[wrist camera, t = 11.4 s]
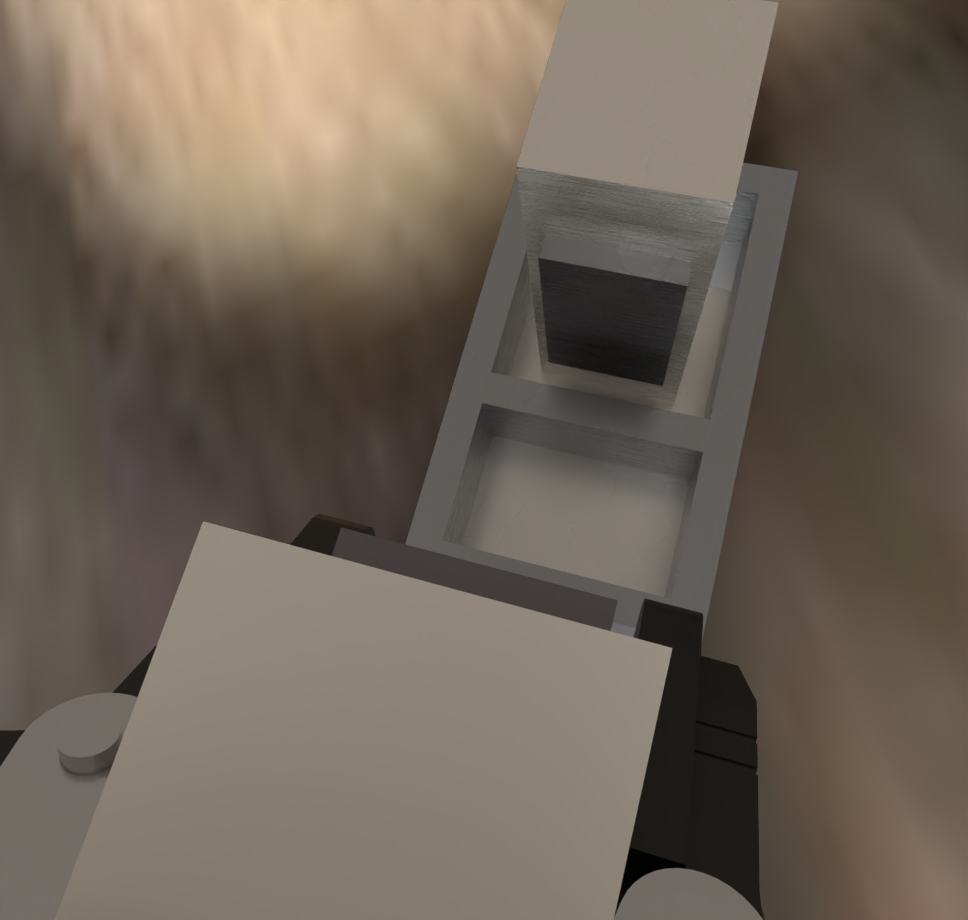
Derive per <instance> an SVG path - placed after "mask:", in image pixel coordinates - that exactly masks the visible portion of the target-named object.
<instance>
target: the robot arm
mask: <svg viewBox="0 0 968 920" xmlns="http://www.w3.org/2000/svg"><path fill="white" fill-rule="evenodd" d="M341 528H345V529H349V530H353V531H356V532H360V533H364V534H368V535H372V536H375V532H374V529H373V528H372V527H368V526H364V525H361V524H357V523H353V522H349V521H345V520H341V519H337V518H333V517H329V516H326V515H322V514H318V515H316V516H315V517H313V518H312V519H311V521H310V522H309V523H308V524H307V525H306V526H305V528H304V529H303V530H302V531H301V532H300V534H299V535H298V536H297V537H296V538H295V539H294V541H293V542H292V543H291V544H290V545H292V546H296V547H300V548H304V549H307V550H311V551H315V552H318V553H322V554H326V555H329V556H332V554H333V551H334V548H335V545H336V542H337V538H338V535H339V532H340V529H341ZM702 630H703V613H700V612H696V611H692V610H689V609H685V608H681V607H677V606H673V605H669V604H665V603H661V602H658V601H654V600H650V599H646V598H644V600H643V603H642V607H641V610H640V614H639V618H638V622H637V625H636V629H635V633H634V637H633V638H637V639H641V640H644V641H648V642H652V643H655V644H659V645H663V646H667V647H670V648H672V652H671V657H670V662H669V666H668V671H667V676H666V680H665V685H664V689H663V694H662V699H661V703H660V708H659V713H658V717H657V722H656V726H655V731H654V736H653V740H652V745H651V750H650V754H649V759H648V763H647V768H646V773H645V777H644V782H643V787H642V791H641V796H640V800H639V805H638V810H637V814H636V819H635V824H634V828H633V833H632V837H631V842H630V847H629V851H628V856H627V861H626V865H625V870H624V874H623V879H622V884H621V888H620V893H619V898H618V902H617V907H616V911H615V916H614V920H765V919H764V915H763V911H762V908H761V902H760V892H759V831H758V775H756V771H757V768H758V767H757V744H756V739H757V702H756V699H755V698H754V696H753V694H752V692H751V690H750V688H749V686H748V684H747V682H746V680H745V678H744V676H743V674H742V672H741V670H740V668H739V666H737V665H733V664H729V663H725V662H722V661H718V660H714V659H710V658H707V657H703V656H701V645H702ZM156 647H157V645H156V646H155V647H154V648H153V650H152V651H151V652H150V653H149V654H148V655H147V656H146V657H145V658H144V659H143V660H142V661H141V663H140V664H139V665H138V666H137V667H136V668H135V669H134V670H133V671H132V672H131V673H130V675H129V676H128V677H127V678H126V679H125V680H124V681H123V682H122V683H121V684H120V685H119V686H118V688H117V689H116V690H115V691H114V692H113V693H99V694H92V695H87V696H82V697H79V698H76V699H72V700H70V701H67V702H65V703H63V704H60V705H58V706H56V707H54V708H53V709H51V710H49V711H47V712H46V713H44V714H43V715H42V716H40V717H39V718H38V719H36V720H35V721H34V722H33V723H32V724H31V725H30V726H29V727H28V728H27V729H26V730H18V731H0V920H55V918H56V915H57V913H58V910H59V907H60V905H61V902H62V899H63V896H64V894H65V891H66V888H67V886H68V883H69V880H70V878H71V875H72V872H73V870H74V867H75V864H76V862H77V859H78V856H79V853H80V851H81V848H82V845H83V843H84V840H85V837H86V835H87V832H88V829H89V827H90V824H91V821H92V819H93V816H94V813H95V811H96V808H97V805H98V802H99V800H100V797H101V794H102V792H103V789H104V786H105V784H106V781H107V778H108V776H109V773H110V770H111V768H112V765H113V762H114V759H115V757H116V754H117V751H118V749H119V746H120V743H121V741H122V738H123V735H124V733H125V730H126V727H127V725H128V722H129V719H130V716H131V714H132V711H133V708H134V706H135V703H136V700H137V698H138V695H139V692H140V690H141V687H142V684H143V682H144V679H145V676H146V673H147V671H148V668H149V665H150V663H151V660H152V657H153V655H154V652H155V649H156Z"/></svg>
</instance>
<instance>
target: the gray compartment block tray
mask: <svg viewBox="0 0 968 920" xmlns="http://www.w3.org/2000/svg"><path fill="white" fill-rule="evenodd" d="M778 4H779V2H772V1H764V0H566V3H565V6H564V9H563V13H562V16H561V19H560V23H559V26H558V29H557V33H556V36H555V39H554V43H553V46H552V49H551V53H550V56H549V59H548V63H547V66H546V69H545V73H544V76H543V79H542V83H541V86H540V89H539V93H538V96H537V99H536V102H535V106H534V109H533V112H532V116H531V119H530V122H529V126H528V129H527V132H526V136H525V139H524V142H523V146H522V149H521V152H520V156H519V159H518V162H517V166H516V168H517V174H516V177H515V181H514V184H513V187H512V191H511V194H510V197H509V201H508V204H507V207H506V211H505V214H504V217H503V221H502V224H501V227H500V231H499V234H498V237H497V241H496V244H495V247H494V251H493V254H492V257H491V261H490V264H489V267H488V271H487V274H486V277H485V281H484V284H483V287H482V291H481V294H480V297H479V301H478V304H477V307H476V311H475V314H474V317H473V321H472V324H471V327H470V331H469V334H468V337H467V341H466V344H465V347H464V351H463V354H462V357H461V361H460V364H459V367H458V371H457V374H456V377H455V381H454V384H453V387H452V391H451V394H450V397H449V401H448V404H447V407H446V411H445V414H444V417H443V421H442V424H441V427H440V431H439V434H438V437H437V441H436V444H435V447H434V451H433V454H432V457H431V461H430V464H429V467H428V471H427V474H426V477H425V481H424V484H423V487H422V491H421V494H420V497H419V501H418V504H417V507H416V511H415V514H414V517H413V521H412V524H411V527H410V531H409V534H408V537H407V541H406V545H410V546H413V547H417V548H421V549H425V550H429V551H432V552H436V553H440V554H444V555H448V556H451V557H455V558H459V559H463V560H467V561H470V562H474V563H478V564H482V565H486V566H489V567H493V568H497V569H501V570H505V571H508V572H512V573H516V574H520V575H524V576H528V577H531V578H535V579H539V580H543V581H547V582H550V583H554V584H558V585H562V586H566V587H569V588H573V589H577V590H581V591H585V592H588V593H592V594H596V595H600V596H604V597H607V598H611V599H615V600H618V603H617V607H616V611H615V615H614V620H613V624H612V628H611V632H615V633H618V634H622V635H626V636H629V637H634V633H635V629H636V625H637V622H638V618H639V614H640V610H641V607H642V603H643V600H644V598H646V599H650V600H654V601H658V602H661V603H665V604H669V605H673V606H677V607H681V608H685V609H689V610H692V611H696V612H700V613H703V630H702V640H703V635H704V630H705V625H706V620H707V615H708V610H709V606H710V601H711V596H712V591H713V586H714V581H715V576H716V571H717V566H718V561H719V557H720V552H721V547H722V542H723V537H724V532H725V527H726V522H727V517H728V513H729V508H730V503H731V498H732V493H733V488H734V483H735V478H736V473H737V468H738V464H739V459H740V454H741V449H742V444H743V439H744V434H745V429H746V424H747V420H748V415H749V410H750V405H751V400H752V395H753V390H754V385H755V380H756V375H757V371H758V366H759V361H760V356H761V351H762V346H763V341H764V336H765V331H766V326H767V322H768V317H769V312H770V307H771V302H772V297H773V292H774V287H775V282H776V278H777V273H778V268H779V263H780V258H781V253H782V248H783V243H784V238H785V233H786V229H787V224H788V219H789V214H790V209H791V204H792V199H793V194H794V189H795V184H796V180H797V175H798V171H793V170H786V169H780V168H774V167H768V166H761V165H755V164H749V163H743V160H744V156H745V151H746V147H747V142H748V138H749V134H750V129H751V125H752V120H753V116H754V111H755V107H756V102H757V98H758V93H759V89H760V84H761V80H762V75H763V71H764V67H765V62H766V58H767V53H768V49H769V44H770V40H771V35H772V31H773V26H774V22H775V17H776V13H777V8H778Z"/></svg>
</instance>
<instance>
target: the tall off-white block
mask: <svg viewBox="0 0 968 920" xmlns="http://www.w3.org/2000/svg"><path fill="white" fill-rule="evenodd" d="M617 603H618V600H615V599H611V598H607V597H604V596H600V595H596V594H592V593H588V592H585V591H581V590H577V589H573V588H569V587H566V586H562V585H558V584H554V583H550V582H547V581H543V580H539V579H535V578H531V577H528V576H524V575H520V574H516V573H512V572H508V571H505V570H501V569H497V568H493V567H489V566H486V565H482V564H478V563H474V562H470V561H467V560H463V559H459V558H455V557H451V556H448V555H444V554H440V553H436V552H432V551H429V550H425V549H421V548H417V547H413V546H410V545H406V544H402V543H398V542H394V541H391V540H387V539H383V538H379V537H375V536H372V535H368V534H364V533H360V532H356V531H353V530H349V529H345V528H341V529H340V532H339V535H338V538H337V542H336V545H335V548H334V551H333V554H332V556H329V555H326V554H322V553H318V552H315V551H311V550H307V549H304V548H300V547H296V546H292V545H289V544H285V543H281V542H278V541H274V540H270V539H266V538H263V537H259V536H255V535H252V534H248V533H244V532H241V531H237V530H233V529H229V528H226V527H222V526H218V525H215V524H211V523H207V522H204V521H203V523H202V526H201V528H200V531H199V534H198V536H197V539H196V542H195V545H194V547H193V550H192V553H191V555H190V558H189V561H188V563H187V566H186V569H185V571H184V574H183V577H182V579H181V582H180V585H179V588H178V590H177V593H176V596H175V598H174V601H173V604H172V606H171V609H170V612H169V614H168V617H167V620H166V622H165V625H164V628H163V631H162V633H161V636H160V639H159V641H158V644H157V647H156V649H155V652H154V655H153V657H152V660H151V663H150V665H149V668H148V671H147V673H146V676H145V679H144V682H143V684H142V687H141V690H140V692H139V695H138V698H137V700H136V703H135V706H134V708H133V711H132V714H131V716H130V719H129V722H128V725H127V727H126V730H125V733H124V735H123V738H122V741H121V743H120V746H119V749H118V751H117V754H116V757H115V759H114V762H113V765H112V768H111V770H110V773H109V776H108V778H107V781H106V784H105V786H104V789H103V792H102V794H101V797H100V800H99V802H98V805H97V808H96V811H95V813H94V816H93V819H92V821H91V824H90V827H89V829H88V832H87V835H86V837H85V840H84V843H83V845H82V848H81V851H80V853H79V856H78V859H77V862H76V864H75V867H74V870H73V872H72V875H71V878H70V880H69V883H68V886H67V888H66V891H65V894H64V896H63V899H62V902H61V905H60V907H59V910H58V913H57V915H56V918H55V920H614V916H615V911H616V907H617V902H618V898H619V893H620V888H621V884H622V879H623V874H624V870H625V865H626V861H627V856H628V851H629V847H630V842H631V837H632V833H633V828H634V824H635V819H636V814H637V810H638V805H639V800H640V796H641V791H642V787H643V782H644V777H645V773H646V768H647V763H648V759H649V754H650V750H651V745H652V740H653V736H654V731H655V726H656V722H657V717H658V713H659V708H660V703H661V699H662V694H663V689H664V685H665V680H666V676H667V671H668V666H669V662H670V657H671V652H672V648H670V647H667V646H663V645H659V644H655V643H652V642H648V641H644V640H641V639H637V638H633V637H629V636H626V635H622V634H618V633H615V632H611V628H612V624H613V620H614V615H615V611H616V607H617Z"/></svg>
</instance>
